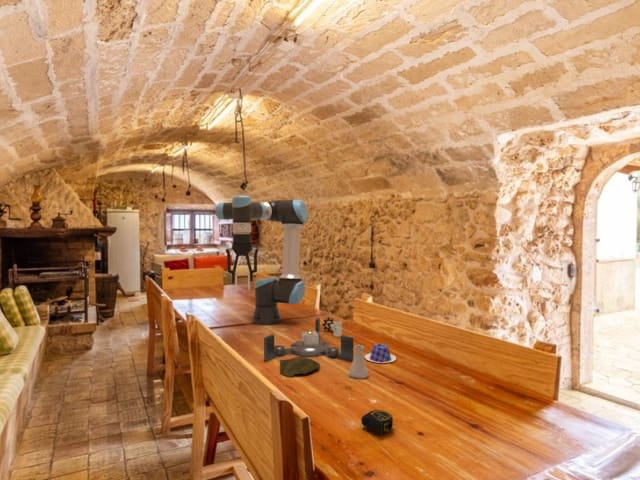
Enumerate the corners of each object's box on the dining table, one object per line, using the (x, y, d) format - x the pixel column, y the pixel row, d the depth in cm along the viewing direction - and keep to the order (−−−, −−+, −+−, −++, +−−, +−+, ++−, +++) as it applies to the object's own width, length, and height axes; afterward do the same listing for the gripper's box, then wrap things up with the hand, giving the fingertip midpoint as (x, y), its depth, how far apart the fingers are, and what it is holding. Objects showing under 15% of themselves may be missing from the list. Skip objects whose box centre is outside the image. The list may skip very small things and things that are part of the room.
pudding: (402, 361, 153) (402, 347, 152) (378, 366, 147) (378, 352, 146) (382, 352, 163) (382, 339, 163) (358, 357, 157) (358, 344, 157)
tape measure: (359, 428, 102) (359, 413, 102) (379, 420, 106) (379, 406, 106) (378, 439, 97) (378, 424, 97) (398, 431, 101) (398, 416, 101)
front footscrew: (277, 352, 163) (277, 330, 162) (286, 353, 160) (286, 331, 160) (260, 360, 153) (260, 337, 153) (270, 362, 151) (269, 338, 150)
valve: (345, 336, 186) (334, 330, 197) (346, 322, 186) (334, 316, 197) (333, 337, 184) (322, 331, 194) (333, 323, 183) (322, 317, 194)
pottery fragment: (323, 376, 138) (323, 364, 138) (281, 379, 135) (281, 366, 135) (316, 362, 151) (316, 351, 151) (278, 365, 149) (278, 353, 149)
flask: (371, 372, 140) (371, 344, 140) (366, 380, 133) (367, 350, 133) (351, 370, 142) (351, 342, 142) (345, 377, 136) (345, 348, 135)
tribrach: (279, 338, 183) (279, 318, 182) (333, 335, 187) (332, 316, 187) (288, 366, 147) (288, 341, 146) (353, 361, 151) (353, 337, 151)
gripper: (219, 233, 161) (220, 291, 162) (263, 233, 164) (264, 290, 165) (220, 233, 168) (221, 288, 169) (263, 233, 171) (263, 287, 172)
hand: (242, 289), depth 167 cm, fingers open, 4 cm apart
